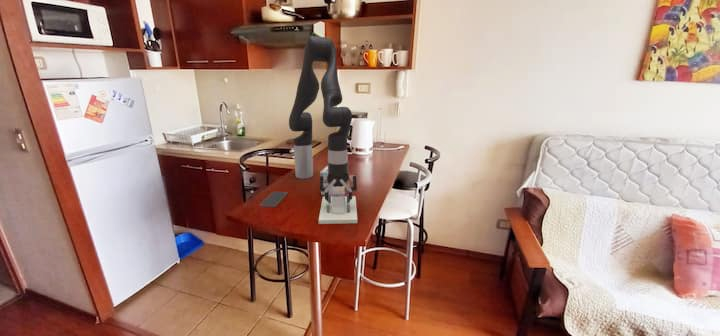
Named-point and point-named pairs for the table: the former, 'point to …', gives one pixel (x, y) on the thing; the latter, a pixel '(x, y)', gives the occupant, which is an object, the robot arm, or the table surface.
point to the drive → (338, 200)
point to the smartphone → (273, 199)
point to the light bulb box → (326, 181)
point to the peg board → (330, 218)
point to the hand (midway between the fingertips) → (338, 200)
